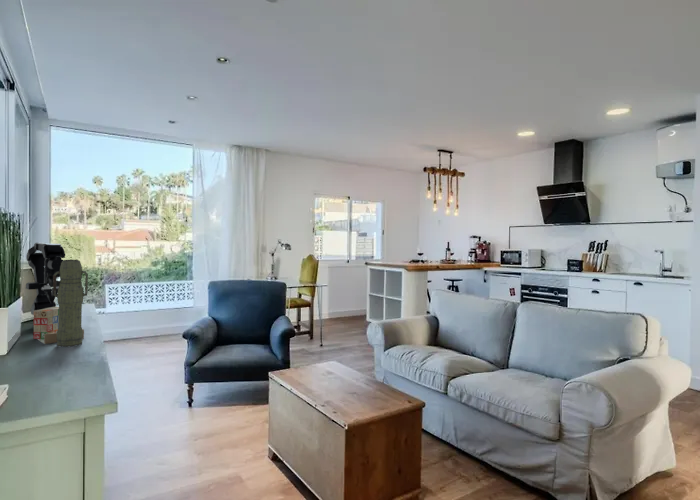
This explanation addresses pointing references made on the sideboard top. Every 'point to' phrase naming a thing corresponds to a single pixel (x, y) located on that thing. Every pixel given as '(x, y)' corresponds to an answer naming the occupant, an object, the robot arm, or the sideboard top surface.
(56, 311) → the stack of blocks
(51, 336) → the dock pad
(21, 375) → the sideboard top surface
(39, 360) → the sideboard top surface
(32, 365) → the sideboard top surface
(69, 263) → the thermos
